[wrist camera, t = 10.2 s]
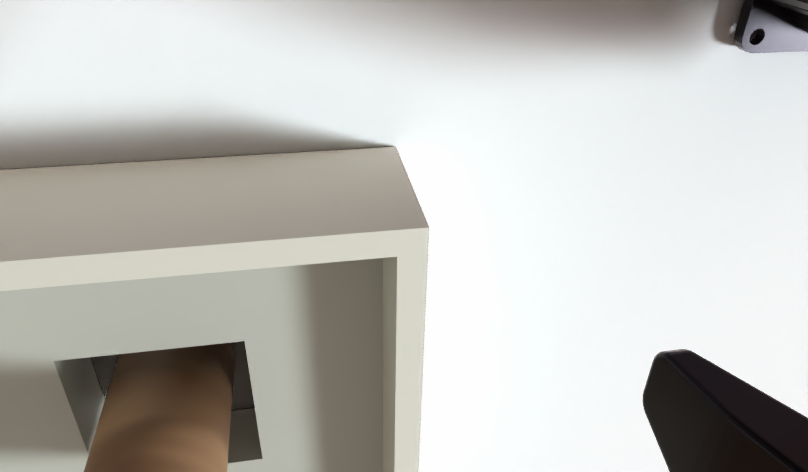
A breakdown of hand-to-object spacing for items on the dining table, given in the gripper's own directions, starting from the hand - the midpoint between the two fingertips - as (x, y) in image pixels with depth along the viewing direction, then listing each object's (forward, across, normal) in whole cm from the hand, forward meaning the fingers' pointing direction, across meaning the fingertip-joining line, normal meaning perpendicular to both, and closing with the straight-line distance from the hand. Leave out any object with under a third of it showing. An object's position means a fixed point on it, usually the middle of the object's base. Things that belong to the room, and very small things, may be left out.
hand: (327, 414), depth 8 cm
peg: (+12, +5, +10) cm, 17 cm away
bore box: (+12, +5, +10) cm, 17 cm away
